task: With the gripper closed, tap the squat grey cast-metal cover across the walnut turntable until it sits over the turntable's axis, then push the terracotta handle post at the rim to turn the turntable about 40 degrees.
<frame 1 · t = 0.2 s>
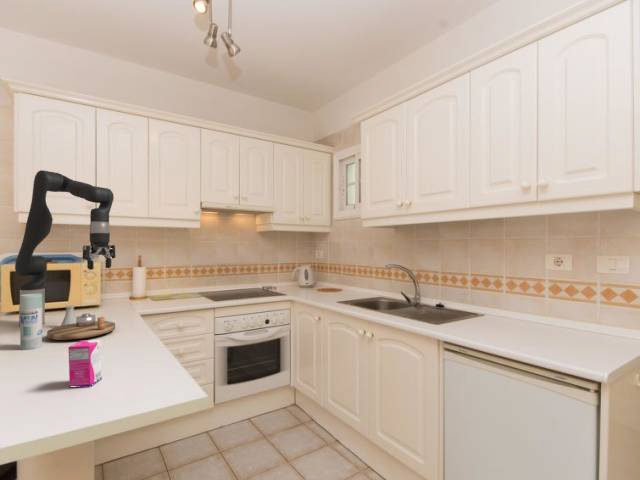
hand: (99, 268, 152), 28 cm above the countertop, tool pointing down, fingers open, 8 cm apart
cover: (86, 324, 152), point 3 cm above the countertop, touching turntable
spray paint can: (31, 347, 130), on the countertop
flask: (70, 328, 160), on the countertop
turntable base: (82, 334, 147), on the countertop
turntable: (82, 323, 147), point 5 cm above the countertop, hinge at 0.0°, touching cover
supplement box: (85, 384, 96), on the countertop
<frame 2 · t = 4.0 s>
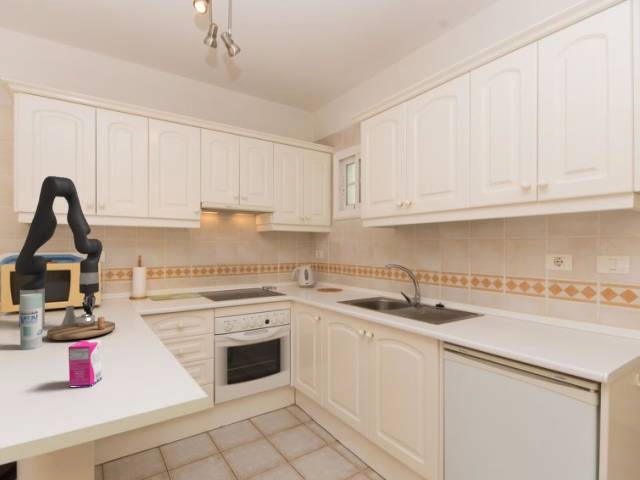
hand: (89, 320, 156), 4 cm above the countertop, tool pointing down, fingers closed
cover: (85, 325, 151), point 3 cm above the countertop, touching gripper, turntable
everything else where it was.
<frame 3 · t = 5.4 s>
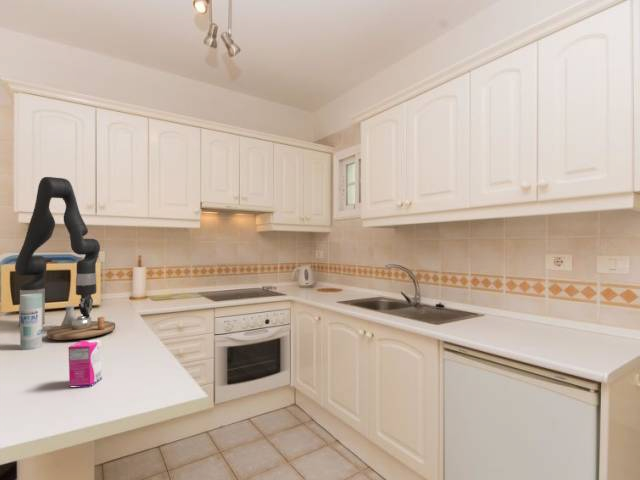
hand: (86, 322, 152), 4 cm above the countertop, tool pointing down, fingers closed
cover: (81, 327, 147), point 3 cm above the countertop, touching gripper, turntable
everything else where it was.
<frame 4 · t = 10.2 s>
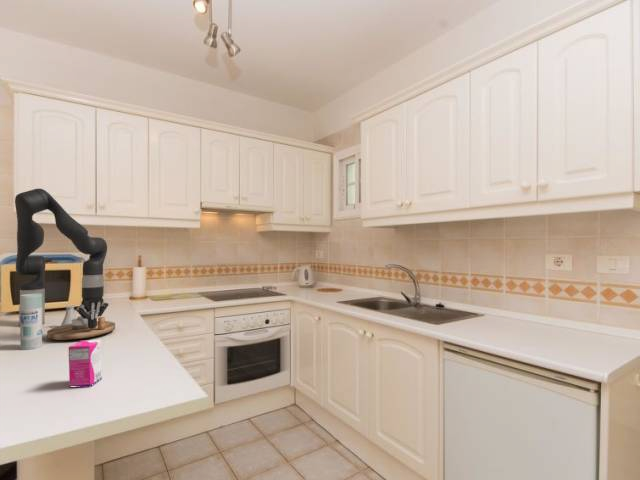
hand: (92, 327, 140), 5 cm above the countertop, tool pointing down, fingers closed
cover: (81, 327, 147), point 3 cm above the countertop, touching turntable
turntable: (82, 323, 147), point 5 cm above the countertop, hinge at 1.3°, touching cover, gripper
everything else where it was.
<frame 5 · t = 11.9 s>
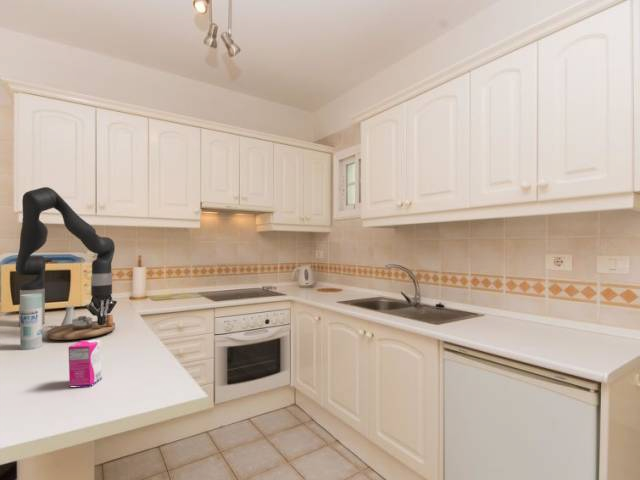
hand: (101, 324, 145), 5 cm above the countertop, tool pointing down, fingers closed
turntable: (82, 323, 147), point 5 cm above the countertop, hinge at 26.5°, touching cover, gripper
everything else where it was.
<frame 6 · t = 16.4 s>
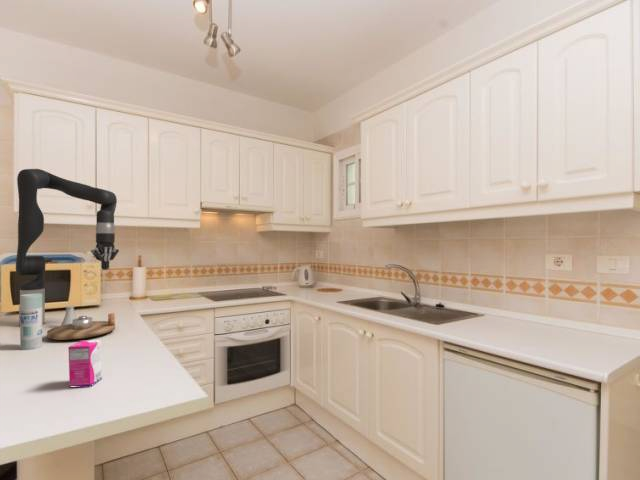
hand: (105, 269, 161), 27 cm above the countertop, tool pointing down, fingers closed
turntable: (82, 323, 147), point 5 cm above the countertop, hinge at 38.8°, touching cover
everything else where it was.
at the end: cover 0.6 cm from the turntable (horizontally); turntable at +39° (first picture: +0°); cover tilted 0° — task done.
